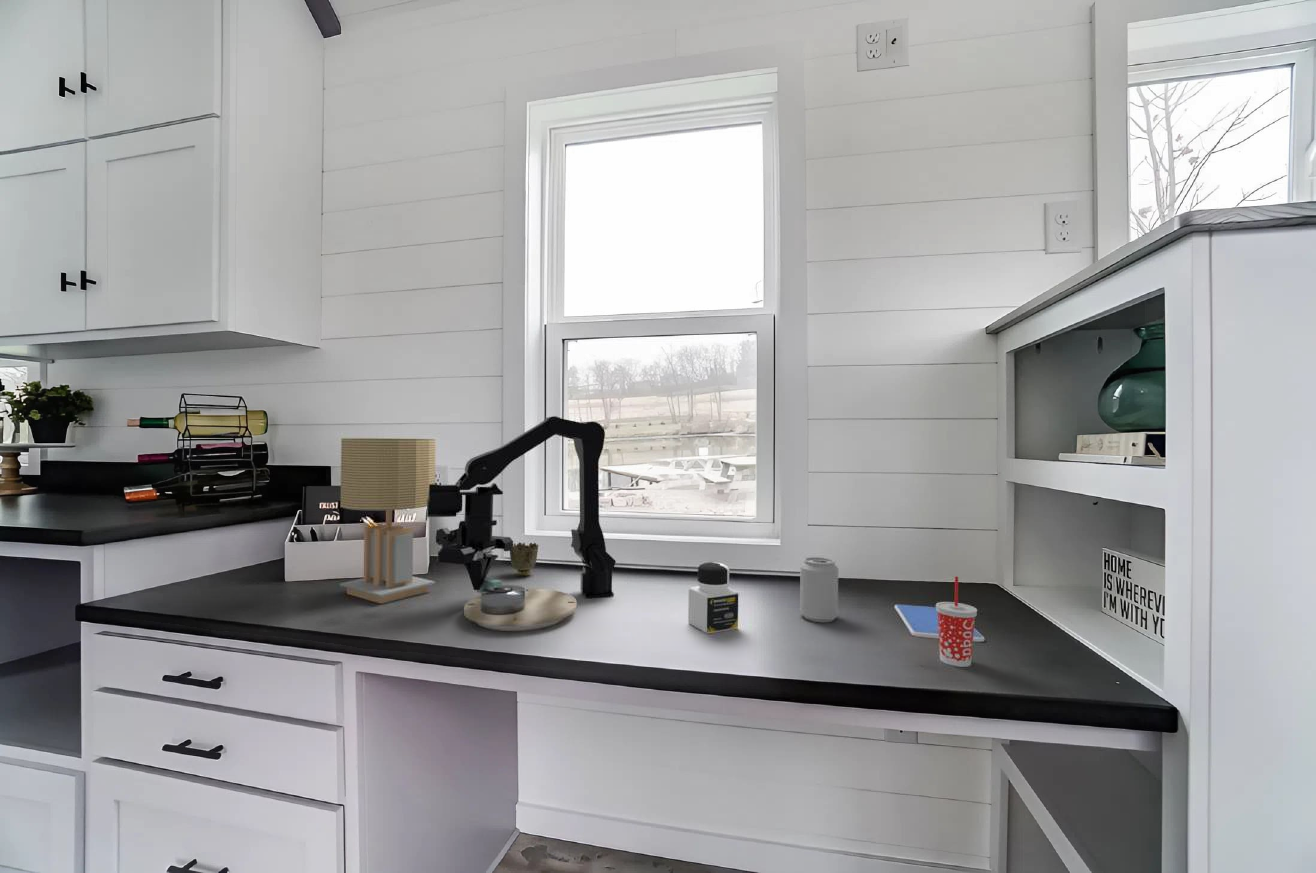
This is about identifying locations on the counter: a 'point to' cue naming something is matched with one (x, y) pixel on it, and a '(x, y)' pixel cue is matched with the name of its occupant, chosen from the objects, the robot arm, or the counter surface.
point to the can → (819, 589)
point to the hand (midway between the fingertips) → (476, 589)
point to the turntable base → (520, 628)
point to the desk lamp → (387, 509)
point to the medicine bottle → (713, 600)
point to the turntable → (537, 607)
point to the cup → (523, 558)
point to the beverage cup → (956, 631)
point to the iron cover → (502, 600)
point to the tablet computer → (925, 621)
